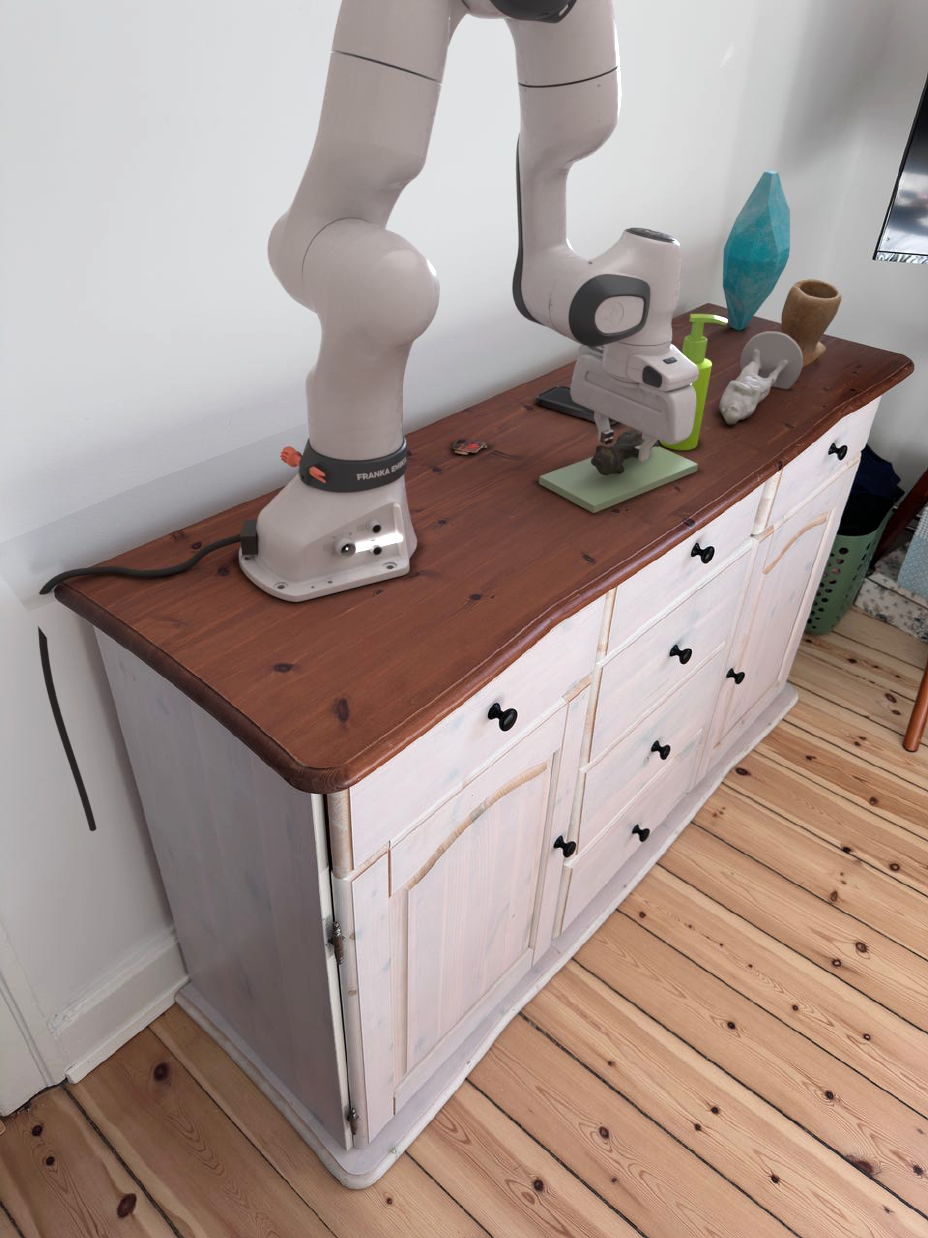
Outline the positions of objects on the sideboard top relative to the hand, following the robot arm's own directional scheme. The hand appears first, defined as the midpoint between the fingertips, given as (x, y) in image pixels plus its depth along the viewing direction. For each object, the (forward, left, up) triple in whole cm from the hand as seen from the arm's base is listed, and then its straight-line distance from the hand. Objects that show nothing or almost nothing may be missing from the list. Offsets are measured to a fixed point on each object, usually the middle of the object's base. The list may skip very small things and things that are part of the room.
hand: (622, 450), depth 133 cm
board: (0, 0, -4) cm, 4 cm away
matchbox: (-12, +21, -4) cm, 24 cm away
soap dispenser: (+17, +3, -4) cm, 18 cm away
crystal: (+73, +34, -4) cm, 80 cm away
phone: (+14, +22, -4) cm, 26 cm away
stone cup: (+65, +15, -4) cm, 67 cm away
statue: (0, 0, -3) cm, 3 cm away
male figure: (+39, +7, -4) cm, 40 cm away
